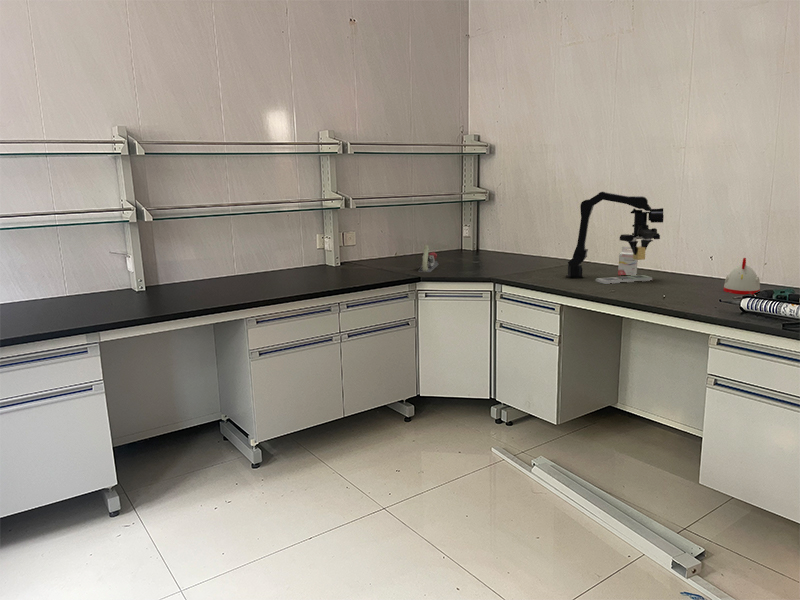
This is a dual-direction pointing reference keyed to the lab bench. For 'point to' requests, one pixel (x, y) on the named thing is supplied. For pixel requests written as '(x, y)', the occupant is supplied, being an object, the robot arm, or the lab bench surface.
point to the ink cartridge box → (627, 262)
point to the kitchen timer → (742, 280)
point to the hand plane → (428, 260)
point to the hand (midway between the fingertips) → (639, 254)
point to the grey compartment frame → (624, 279)
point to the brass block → (639, 253)
